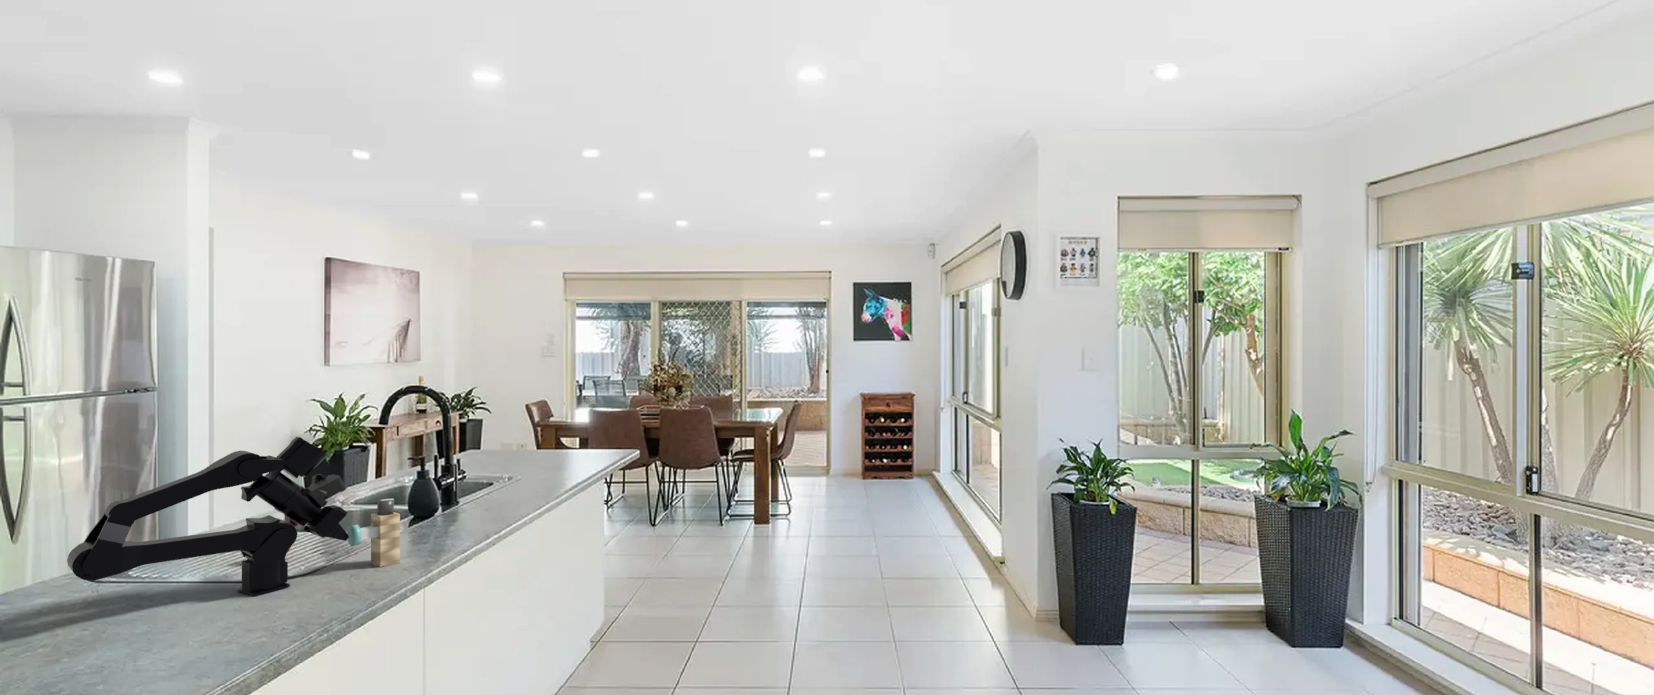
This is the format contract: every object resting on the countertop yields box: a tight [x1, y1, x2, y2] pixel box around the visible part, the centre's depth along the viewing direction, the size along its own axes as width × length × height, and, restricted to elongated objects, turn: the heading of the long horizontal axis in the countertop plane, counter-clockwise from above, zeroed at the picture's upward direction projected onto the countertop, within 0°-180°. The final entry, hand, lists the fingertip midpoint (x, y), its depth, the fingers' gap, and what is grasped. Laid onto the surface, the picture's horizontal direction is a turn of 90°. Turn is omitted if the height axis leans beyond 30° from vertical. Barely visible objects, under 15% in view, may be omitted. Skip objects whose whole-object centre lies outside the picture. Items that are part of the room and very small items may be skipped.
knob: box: [346, 524, 379, 547], centre depth 163 cm, size 6×4×4 cm
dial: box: [376, 498, 395, 515], centre depth 166 cm, size 3×3×3 cm
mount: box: [370, 511, 401, 568], centre depth 166 cm, size 4×5×11 cm
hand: (346, 538), depth 160 cm, fingers closed
